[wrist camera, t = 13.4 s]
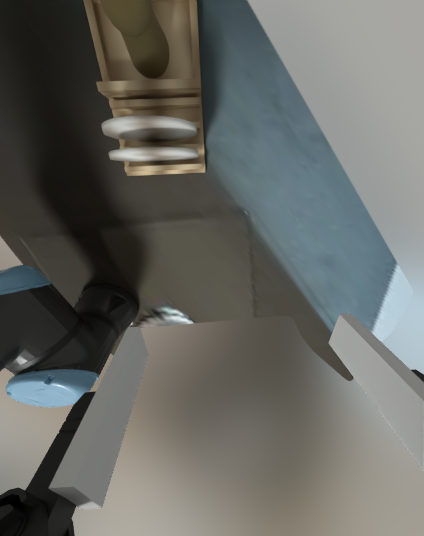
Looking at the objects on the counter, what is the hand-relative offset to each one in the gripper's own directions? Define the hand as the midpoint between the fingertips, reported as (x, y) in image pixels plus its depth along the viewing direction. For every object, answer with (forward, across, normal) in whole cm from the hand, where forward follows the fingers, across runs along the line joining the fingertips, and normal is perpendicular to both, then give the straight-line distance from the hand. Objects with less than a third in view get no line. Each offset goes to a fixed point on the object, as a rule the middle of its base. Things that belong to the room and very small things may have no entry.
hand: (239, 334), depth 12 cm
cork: (+31, +9, -26) cm, 42 cm away
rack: (+32, +9, -21) cm, 39 cm away
